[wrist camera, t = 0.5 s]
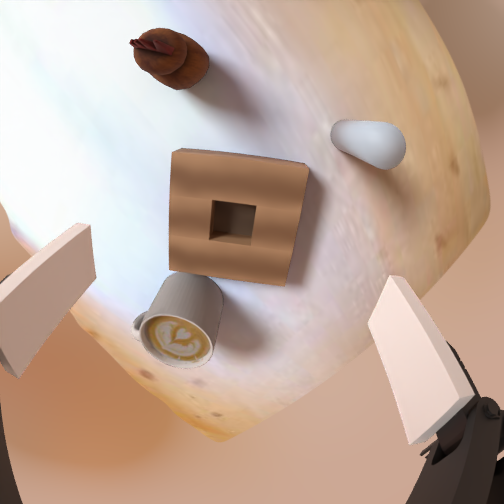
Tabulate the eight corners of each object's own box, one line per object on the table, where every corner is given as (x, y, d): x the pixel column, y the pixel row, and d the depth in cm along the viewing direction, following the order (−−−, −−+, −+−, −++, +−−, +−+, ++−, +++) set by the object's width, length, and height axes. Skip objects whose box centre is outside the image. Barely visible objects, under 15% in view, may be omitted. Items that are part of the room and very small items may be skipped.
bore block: (182, 148, 32) (171, 152, 28) (304, 163, 32) (309, 169, 29) (177, 255, 39) (169, 270, 35) (283, 270, 39) (284, 286, 35)
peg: (333, 116, 29) (367, 116, 19) (364, 124, 29) (409, 130, 19) (327, 147, 31) (358, 163, 20) (358, 154, 31) (400, 174, 21)
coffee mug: (219, 270, 40) (206, 315, 31) (226, 323, 44) (218, 370, 35) (135, 271, 40) (106, 310, 32) (150, 320, 45) (130, 363, 36)
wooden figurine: (224, 65, 27) (192, 29, 14) (190, 99, 29) (137, 90, 16) (184, 36, 25) (133, -8, 12) (153, 69, 27) (85, 48, 14)
